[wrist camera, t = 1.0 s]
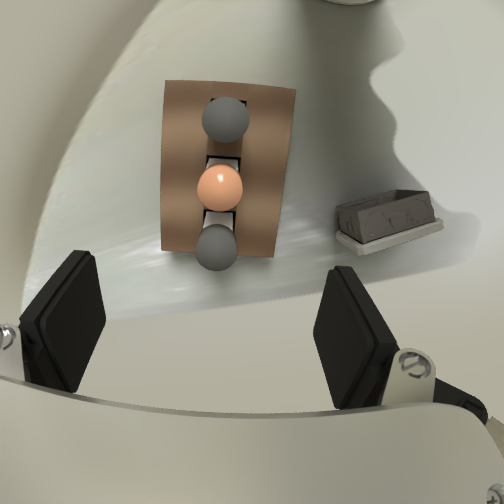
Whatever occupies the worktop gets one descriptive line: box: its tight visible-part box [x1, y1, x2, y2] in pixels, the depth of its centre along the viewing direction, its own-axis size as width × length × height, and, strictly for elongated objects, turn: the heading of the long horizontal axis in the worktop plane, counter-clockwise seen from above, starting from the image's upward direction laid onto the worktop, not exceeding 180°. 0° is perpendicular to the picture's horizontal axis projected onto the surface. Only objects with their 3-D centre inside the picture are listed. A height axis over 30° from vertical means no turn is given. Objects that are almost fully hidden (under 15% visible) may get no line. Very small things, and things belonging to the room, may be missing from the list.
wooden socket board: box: [160, 80, 296, 258], centre depth 28 cm, size 16×11×4 cm
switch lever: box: [202, 97, 250, 143], centre depth 22 cm, size 3×3×6 cm
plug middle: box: [197, 158, 243, 211], centre depth 24 cm, size 3×3×6 cm
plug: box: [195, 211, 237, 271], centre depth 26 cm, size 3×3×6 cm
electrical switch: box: [335, 189, 444, 255], centre depth 29 cm, size 9×5×9 cm, turn 107°
